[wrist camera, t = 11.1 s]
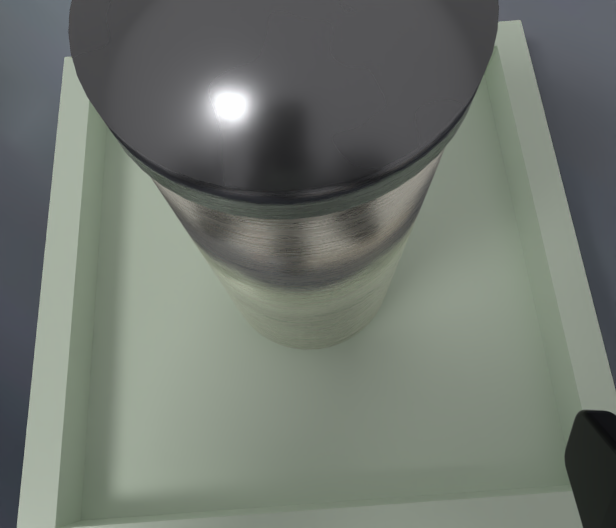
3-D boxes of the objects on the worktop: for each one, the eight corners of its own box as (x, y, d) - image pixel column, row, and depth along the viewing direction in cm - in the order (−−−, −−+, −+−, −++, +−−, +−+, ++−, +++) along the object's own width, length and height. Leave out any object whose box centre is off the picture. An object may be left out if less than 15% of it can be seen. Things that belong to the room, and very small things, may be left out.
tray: (609, 518, 15) (651, 529, 13) (51, 558, 15) (12, 575, 13) (502, 59, 20) (520, 20, 18) (89, 93, 20) (64, 56, 18)
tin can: (426, 264, 17) (586, -21, 6) (313, 389, 16) (290, 287, 5) (304, 166, 18) (275, -201, 8) (192, 275, 17) (-18, 14, 7)
